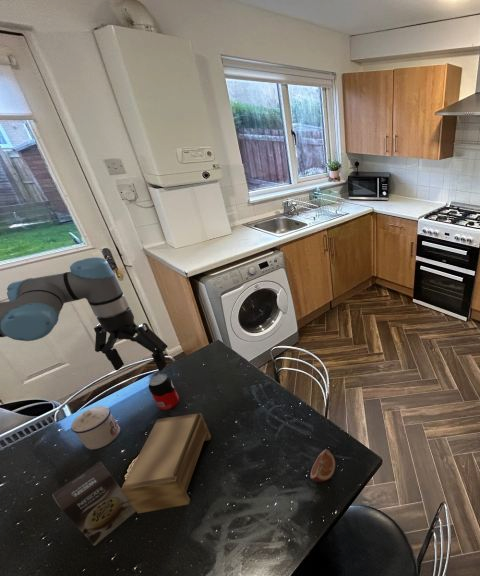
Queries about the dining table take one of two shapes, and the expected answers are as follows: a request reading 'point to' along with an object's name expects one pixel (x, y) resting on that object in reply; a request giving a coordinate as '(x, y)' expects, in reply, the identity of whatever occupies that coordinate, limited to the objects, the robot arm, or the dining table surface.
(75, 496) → the brown cardboard box
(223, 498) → the dining table surface
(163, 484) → the tan boxy piece
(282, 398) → the dining table surface
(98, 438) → the white round tub
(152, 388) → the beverage can
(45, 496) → the dining table surface
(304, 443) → the dining table surface
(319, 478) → the fruit slice
